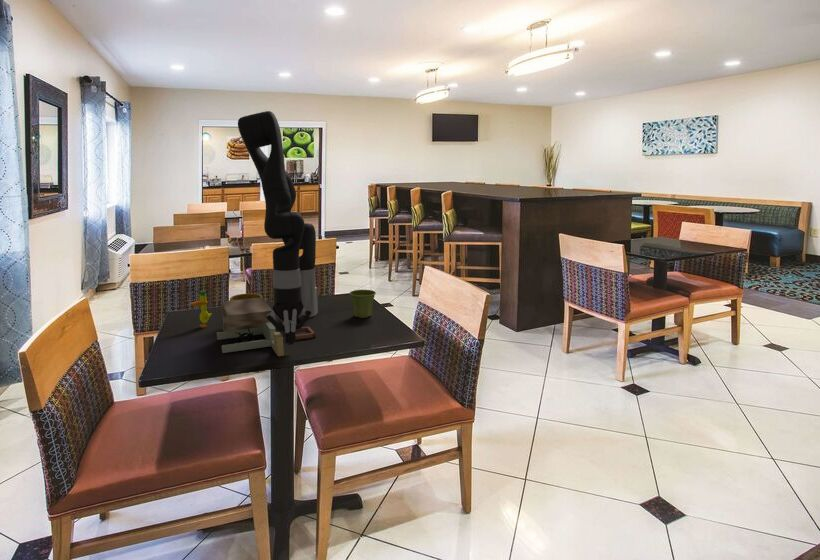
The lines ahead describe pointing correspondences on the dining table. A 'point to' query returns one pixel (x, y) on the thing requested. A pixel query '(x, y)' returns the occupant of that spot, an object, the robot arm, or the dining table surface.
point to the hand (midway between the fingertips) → (290, 344)
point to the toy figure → (202, 308)
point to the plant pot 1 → (245, 296)
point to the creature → (240, 339)
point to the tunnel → (244, 314)
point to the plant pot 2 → (362, 302)
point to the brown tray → (304, 333)
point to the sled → (267, 330)
